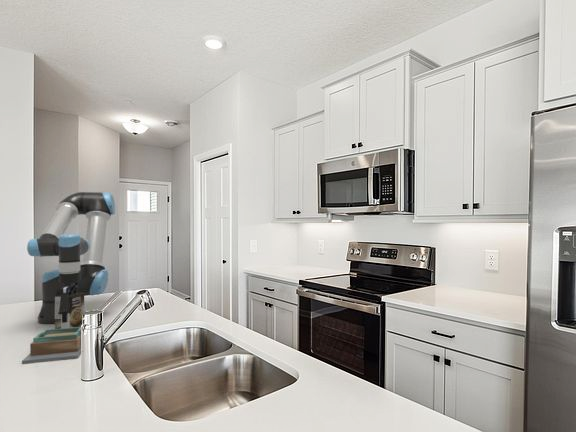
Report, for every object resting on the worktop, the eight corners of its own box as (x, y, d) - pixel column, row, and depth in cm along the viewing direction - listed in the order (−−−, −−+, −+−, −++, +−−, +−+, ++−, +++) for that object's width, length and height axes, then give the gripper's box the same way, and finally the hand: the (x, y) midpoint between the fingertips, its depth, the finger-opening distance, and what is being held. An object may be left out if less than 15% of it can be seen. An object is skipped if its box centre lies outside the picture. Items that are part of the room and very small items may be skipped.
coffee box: (68, 338, 144) (67, 297, 144) (54, 337, 145) (53, 296, 145) (85, 331, 153) (85, 292, 153) (71, 330, 154) (71, 291, 154)
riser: (43, 344, 134) (43, 329, 134) (86, 340, 138) (85, 325, 138) (30, 356, 122) (30, 339, 122) (77, 351, 126) (77, 335, 126)
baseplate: (44, 343, 138) (44, 340, 138) (91, 339, 142) (91, 336, 142) (21, 364, 118) (21, 360, 118) (77, 358, 123) (77, 355, 123)
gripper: (68, 268, 159) (68, 318, 159) (48, 277, 136) (49, 335, 136) (87, 268, 161) (87, 317, 161) (71, 276, 138) (71, 333, 138)
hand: (70, 325), depth 149 cm, fingers open, 12 cm apart
